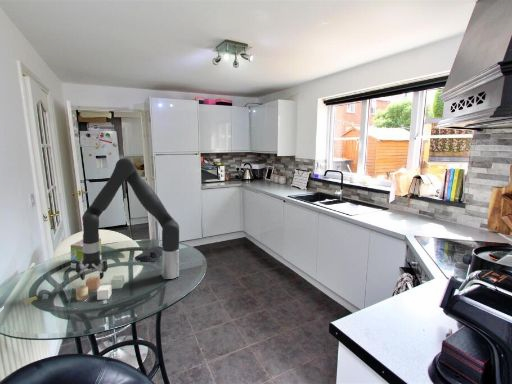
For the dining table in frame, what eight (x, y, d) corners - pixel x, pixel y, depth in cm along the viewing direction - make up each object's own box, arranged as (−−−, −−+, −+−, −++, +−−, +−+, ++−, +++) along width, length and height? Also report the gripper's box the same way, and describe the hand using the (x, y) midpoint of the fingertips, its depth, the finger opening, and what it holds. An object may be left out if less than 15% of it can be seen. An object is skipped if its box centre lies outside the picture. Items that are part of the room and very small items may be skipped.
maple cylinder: (90, 294, 135) (89, 285, 134) (86, 300, 130) (85, 291, 129) (78, 295, 134) (78, 286, 133) (74, 301, 129) (73, 291, 128)
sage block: (124, 283, 148) (123, 275, 147) (121, 288, 143) (121, 279, 142) (114, 284, 147) (113, 275, 146) (111, 288, 142) (111, 280, 141)
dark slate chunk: (169, 251, 195) (169, 245, 195) (152, 263, 174) (152, 256, 173) (150, 248, 198) (150, 242, 197) (131, 260, 177) (131, 253, 176)
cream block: (111, 293, 137) (111, 284, 136) (108, 299, 132) (108, 289, 132) (100, 294, 136) (100, 285, 135) (97, 299, 131) (97, 290, 131)
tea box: (87, 269, 160) (86, 246, 158) (70, 268, 161) (69, 245, 158) (102, 259, 175) (101, 237, 173) (86, 258, 175) (85, 236, 173)
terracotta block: (100, 284, 145) (99, 276, 144) (96, 289, 140) (96, 280, 139) (89, 285, 144) (89, 276, 143) (86, 290, 139) (85, 281, 138)
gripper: (108, 247, 144) (109, 275, 147) (79, 247, 141) (80, 276, 143) (104, 252, 137) (104, 282, 139) (72, 252, 134) (73, 283, 136)
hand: (92, 279), depth 141 cm, fingers open, 8 cm apart
